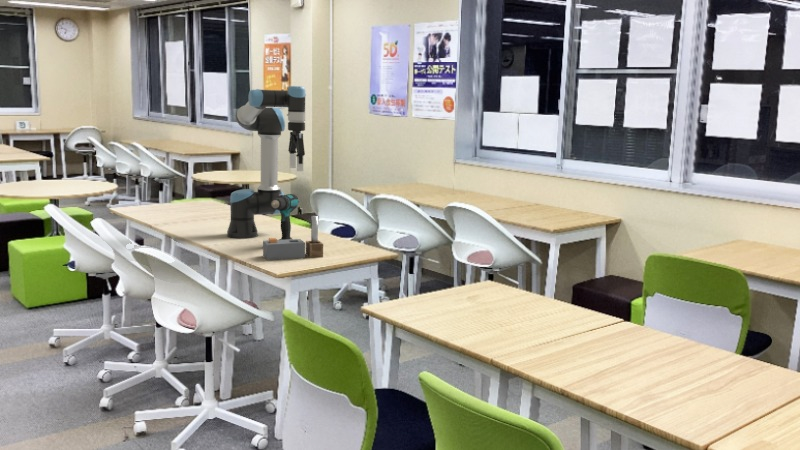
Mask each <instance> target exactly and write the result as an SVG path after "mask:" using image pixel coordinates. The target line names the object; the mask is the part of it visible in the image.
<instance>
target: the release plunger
mask: <svg viewBox="0 0 800 450" xmlns="http://www.w3.org/2000/svg"><path fill="white" fill-rule="evenodd" d="M268 240H269V243H277V240H278V239H277V238H276V237H271V238H268Z"/></svg>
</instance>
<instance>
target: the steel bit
mask: <svg viewBox="0 0 800 450" xmlns="http://www.w3.org/2000/svg"><path fill="white" fill-rule="evenodd" d="M310 219H311V220H310V222H311V223H310V227H311V228H310V232H311V233H310V241H311V244H313V243H318V240H319V216H318V215H311V218H310Z"/></svg>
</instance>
